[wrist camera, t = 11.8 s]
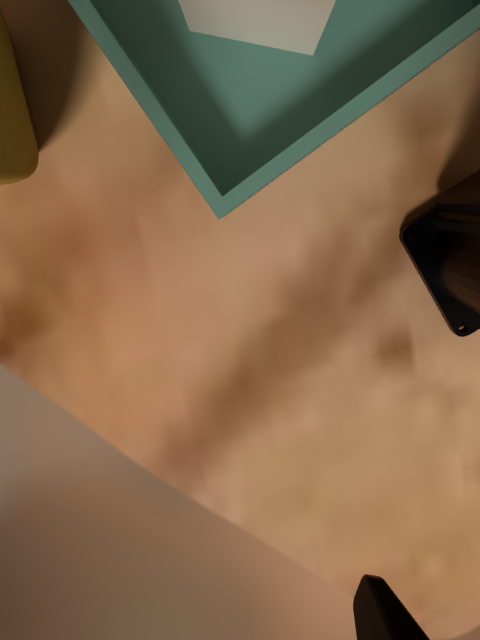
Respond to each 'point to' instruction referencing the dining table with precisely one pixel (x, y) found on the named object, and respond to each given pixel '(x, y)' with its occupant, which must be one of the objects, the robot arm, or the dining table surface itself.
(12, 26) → the dining table surface
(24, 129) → the flower pot
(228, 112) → the teal bin
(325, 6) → the stone block
